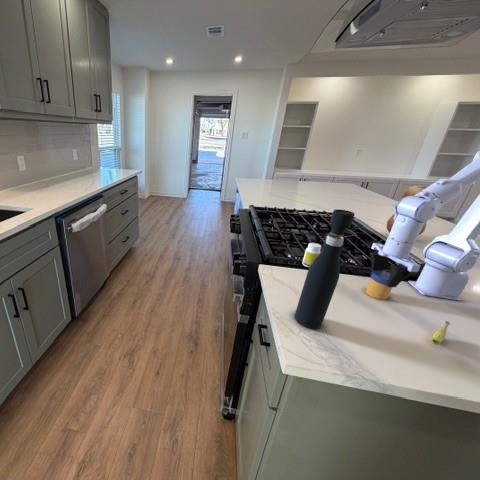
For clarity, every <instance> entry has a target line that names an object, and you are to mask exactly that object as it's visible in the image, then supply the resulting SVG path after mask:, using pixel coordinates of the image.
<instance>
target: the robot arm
mask: <svg viewBox="0 0 480 480" xmlns="http://www.w3.org/2000/svg"><path fill="white" fill-rule="evenodd" d="M478 180H480V150H478V151H477V152H476V154H475V155H474V157H473V159H472V161H471V162H470V163H469V164H467V165H466V166H464V167H462V169H460V170H459V171H457V172H456V173H455V174H453V176H451V177H450V178H441V179H437V180H436V181H435V182H433V183H432V184H430V185H429V186H426V187H427V188H426V189H424V190H422V191H421V192H419V193H418V194H416V195H414V196H408V197H404V198H402V197H401V198H402V199H401V198H400V200H399V201H397V203H396V204H395V205H394V207H393V212H394V214H395V216H394V218H393V219H394V221H395V222H394V224H393V227H392V229H391V231H390V233H389V234H388V236H387V239H386V241H385V243H384V244H382V243H380V242H373V243H372V245H371V247H370V248H371V249H372V250H374V251H370V252H369V257H370V261H371V262H370V263H371V268H370V271H371V272H370V275H371V274H372V272H373V271H374V270H381V271H384V268H385V266H386V265H387V264H388V263H389V261H390V260H391V261H394V262H395V263H397V264H390V265H389V266H390V267H389V268H390V272H389V273H390V277H389V280H388V282H387V286H388V287H393V288H397V286H398V285H399V284H400V283H402V282H403V281H404V280H405V279H406V278H407V277H409V276H411V275H413V274H415V273H419V271H420V268H421V265H420V264H418V263H417V261H415V260H414V259H413V258H411V257H410V254H411V252H412V250H413V248H414V245H415V244H416V242H417V240H418V237H419V236H420V235H419V233H420V231H421V229H422V227H423V225H424V223H425V221H427V222H428V221H431V220H432V219H433V218H434V217H435V216H436V214H437V213H438V212H439V211H441V209H442V207H443V206H444V205H446V204H447V203H449V202H451V201H452V200H454V199H456V198H457V197H459V196H460V195H461V194H462V191H463V188H465V187H467V186H469V185H470V184H472V183H474V182H476V181H478ZM418 235H419V236H418ZM479 236H480V193H479V194H478V195H477V197H476V198H475V200H474V201H473V202H472V203H471V205H470V207H468V209H467V210H466V212H464V214H463V215H462V216H461V218H460V219H459V221H458V222H457V223H456V225H455V226H454V227H453V229H452V230H451V232H450V233H448V234H443V235H438V236H435V237H434V239H433V240H432V241H431V242H430V243H428V244H427V245H426V246H425V247H424V248H423V250H422V257H423V258H424V260H423V261H424V262H425V264H424V266H423V268H422V270H421V272H420V273H419V276H418V278H417V280H415V281H414V280H408V284H410V285H411V286H412V287H413V288H415V289H416V290H417V291H418V293H420V294H421V295H422V296H428V297H434V298H441V299H448V300H455V301H461V298H460V296H461V294H462V293H463V291H464V290H465V288H466V286H467V284H468V282H469V278H470V277H469V273H468V271H469V270H471V269H473V267H475V265H476V263H477V261H478V258H479V256H480V247H479V246H478V245H477V243H476V242H475V241H476V239H478V237H479Z"/></svg>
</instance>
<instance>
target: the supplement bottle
mask: <svg viewBox="0 0 480 480" xmlns="http://www.w3.org/2000/svg"><path fill="white" fill-rule="evenodd" d="M321 250H322V245H321V244H320V243H316V242H309V243H308V245H307V247H306V248H305V250H304V251H305V252H304V254H303V257H302V262H301V264H302V265H303V266H304V267H306V268H308V269H309V268H310V266H311V264H312V263H313V261H314V260H315V259H316V257H317V256H318V255H319V254H320V253H321Z"/></svg>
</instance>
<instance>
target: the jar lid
mask: <svg viewBox="0 0 480 480" xmlns="http://www.w3.org/2000/svg"><path fill="white" fill-rule="evenodd" d="M389 277H390V272H389V271H386V270H382V271H381V270H374V271H373V272H372V274H371V273H370V279H371V278H372V279H373V280H375V281H377V282H379V283H382V284H385V285H387V282H388V280H389Z"/></svg>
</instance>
